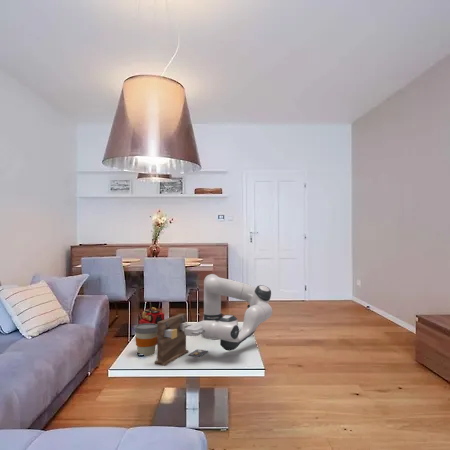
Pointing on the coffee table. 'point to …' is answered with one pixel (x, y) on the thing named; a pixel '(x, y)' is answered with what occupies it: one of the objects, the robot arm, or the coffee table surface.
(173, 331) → the yellow and grey block
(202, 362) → the coffee table surface
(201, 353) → the card
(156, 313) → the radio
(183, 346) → the panel
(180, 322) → the off-white rectangular block
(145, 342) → the reusable coffee cup
